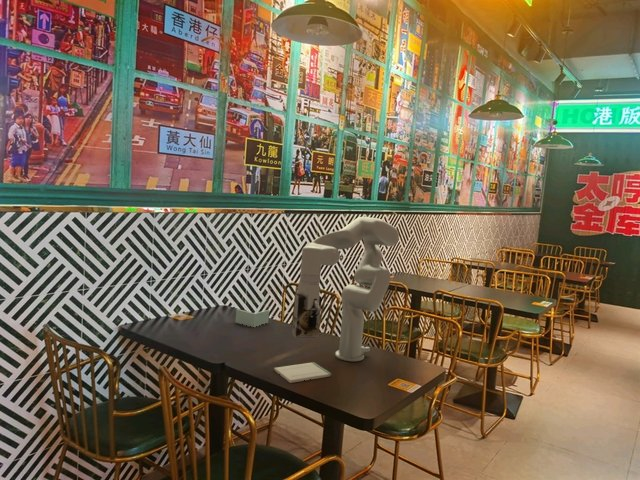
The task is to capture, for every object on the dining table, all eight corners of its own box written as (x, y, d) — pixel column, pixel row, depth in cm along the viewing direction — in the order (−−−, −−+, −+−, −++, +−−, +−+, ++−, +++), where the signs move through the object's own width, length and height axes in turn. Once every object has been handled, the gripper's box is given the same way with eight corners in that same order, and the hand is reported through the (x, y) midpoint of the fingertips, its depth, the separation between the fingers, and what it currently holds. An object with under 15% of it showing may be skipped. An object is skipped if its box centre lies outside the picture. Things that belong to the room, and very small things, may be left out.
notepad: (313, 364, 193) (313, 361, 193) (331, 376, 182) (331, 373, 182) (274, 370, 184) (274, 367, 184) (290, 382, 173) (290, 380, 173)
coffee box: (295, 339, 177) (298, 296, 176) (291, 333, 183) (294, 292, 182) (318, 338, 180) (322, 297, 178) (314, 333, 186) (317, 293, 184)
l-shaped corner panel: (268, 324, 249) (269, 310, 248) (253, 328, 238) (254, 314, 238) (250, 319, 255) (251, 305, 254) (235, 323, 245) (236, 309, 244)
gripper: (290, 274, 185) (286, 318, 186) (313, 283, 170) (309, 331, 172) (306, 274, 189) (303, 317, 191) (330, 282, 174) (326, 329, 176)
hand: (306, 323), depth 181 cm, fingers closed on coffee box, 7 cm apart
